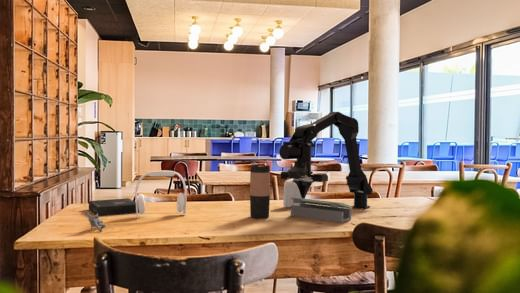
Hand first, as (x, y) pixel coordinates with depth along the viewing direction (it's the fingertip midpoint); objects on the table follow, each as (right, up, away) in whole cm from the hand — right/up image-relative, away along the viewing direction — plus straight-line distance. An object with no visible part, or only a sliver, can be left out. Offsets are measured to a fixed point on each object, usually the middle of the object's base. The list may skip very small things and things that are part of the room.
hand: (303, 198), depth 188 cm
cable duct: (+6, -7, -3) cm, 10 cm away
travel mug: (-17, -7, -3) cm, 19 cm away
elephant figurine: (-73, -8, -27) cm, 78 cm away
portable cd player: (-76, -7, +7) cm, 77 cm away
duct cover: (+6, -3, -3) cm, 8 cm away
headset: (-55, -7, -3) cm, 56 cm away
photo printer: (-2, -6, +22) cm, 23 cm away
